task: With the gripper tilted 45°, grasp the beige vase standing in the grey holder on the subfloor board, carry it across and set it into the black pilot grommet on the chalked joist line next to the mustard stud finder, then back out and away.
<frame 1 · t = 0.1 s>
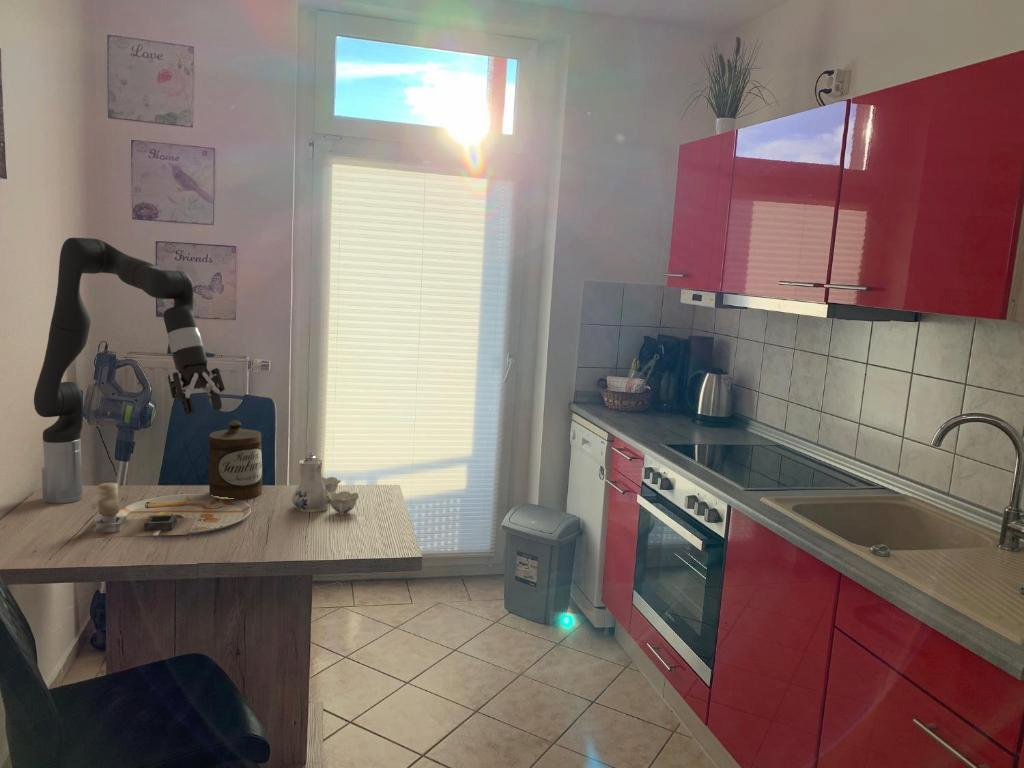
hand: (204, 412, 200), 31 cm above the table, tool tilted 20°, fingers open, 8 cm apart
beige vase: (109, 528, 202), point 1 cm above the table, touching subfloor board
wooden container: (236, 494, 242), on the table
subfloor board: (139, 533, 204), on the table
chinaware: (321, 507, 231), on the table
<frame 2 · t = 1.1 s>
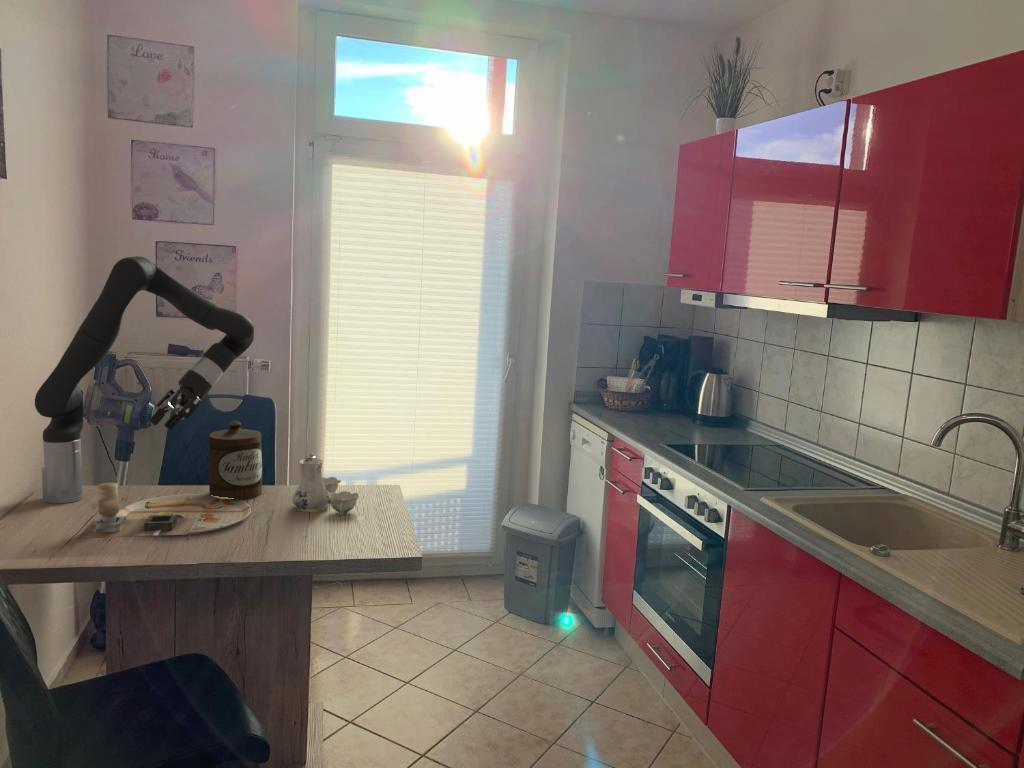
hand: (159, 425, 209), 26 cm above the table, tool tilted 45°, fingers open, 8 cm apart
nothing on the table moved.
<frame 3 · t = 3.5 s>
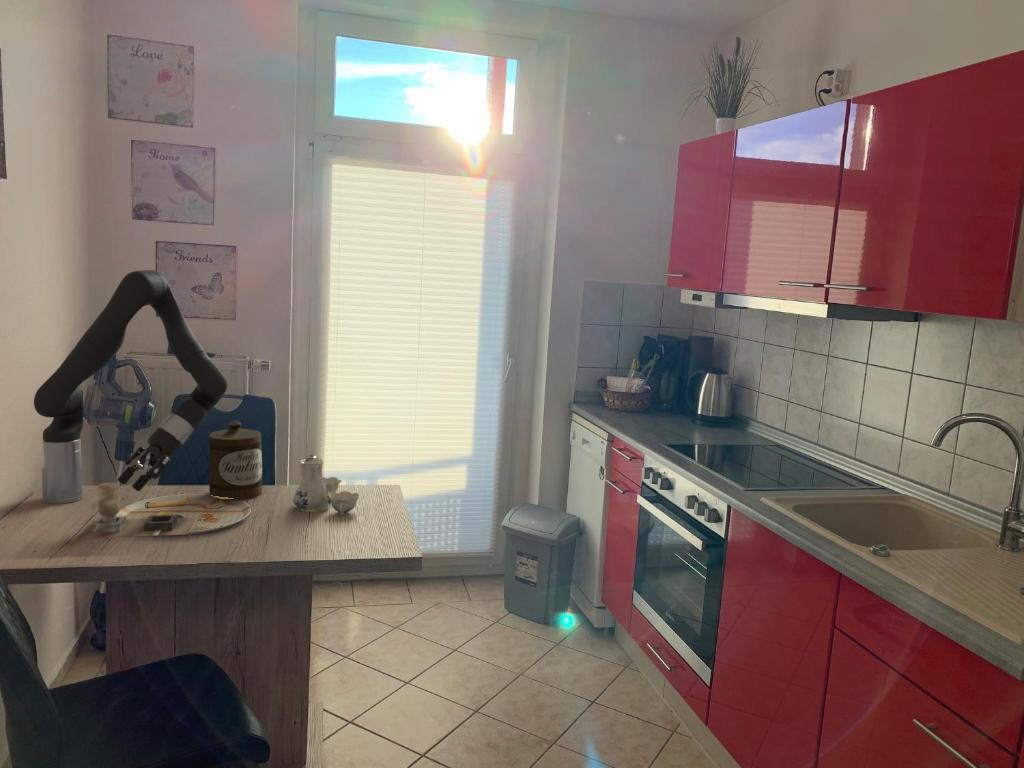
hand: (127, 485, 204), 11 cm above the table, tool tilted 45°, fingers open, 8 cm apart
nothing on the table moved.
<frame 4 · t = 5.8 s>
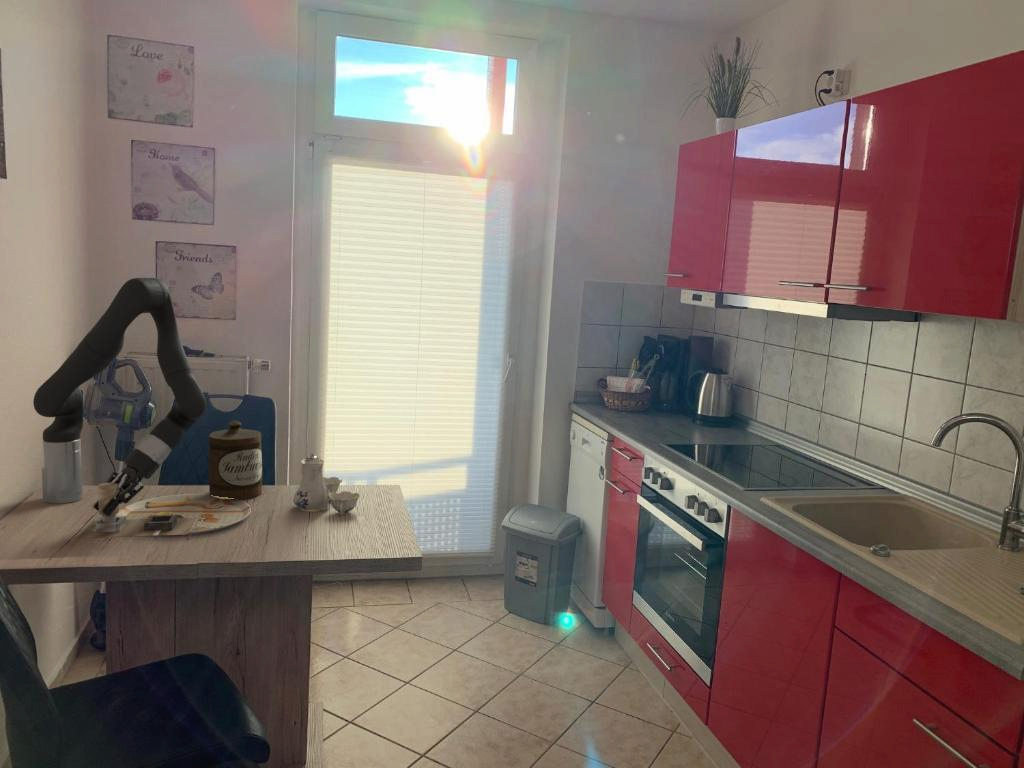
hand: (100, 511, 200), 6 cm above the table, tool tilted 45°, fingers closed on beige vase, 4 cm apart
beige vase: (109, 528, 202), point 2 cm above the table, touching gripper, subfloor board
everything else where it was.
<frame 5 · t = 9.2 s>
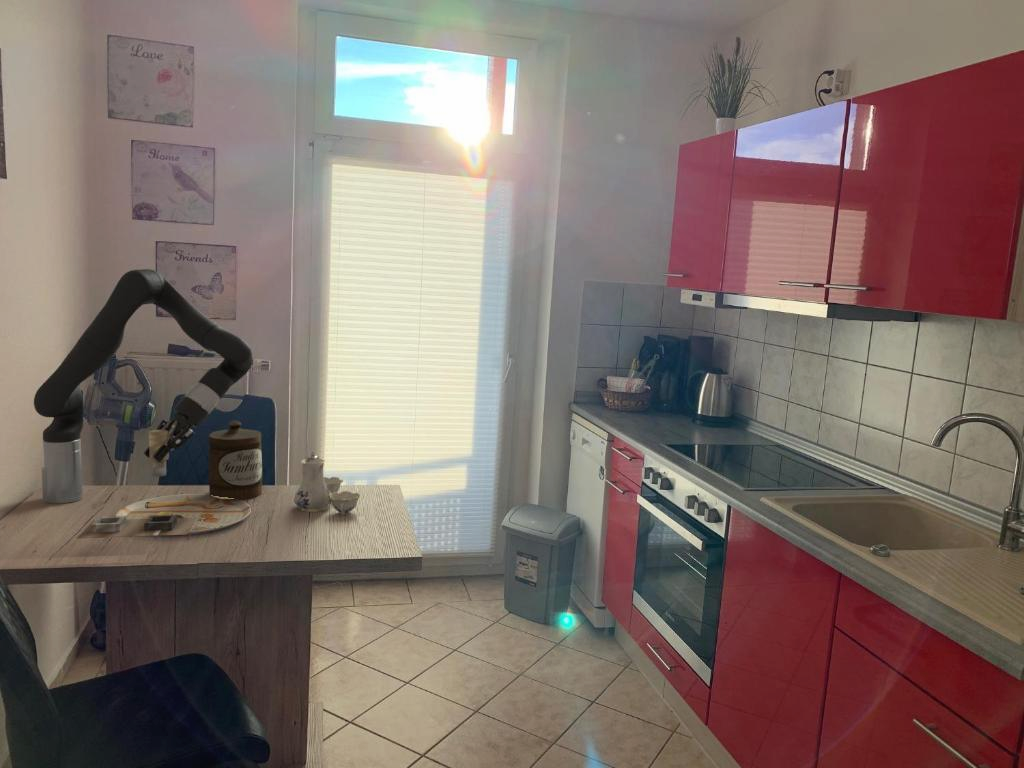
hand: (151, 457, 201), 19 cm above the table, tool tilted 45°, fingers closed on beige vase, 4 cm apart
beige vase: (159, 474, 203), point 15 cm above the table, touching gripper
everything else where it was.
when the fingers open (7 cm above the table, at t = 12.6 s): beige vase drops 1 cm, resting on subfloor board.
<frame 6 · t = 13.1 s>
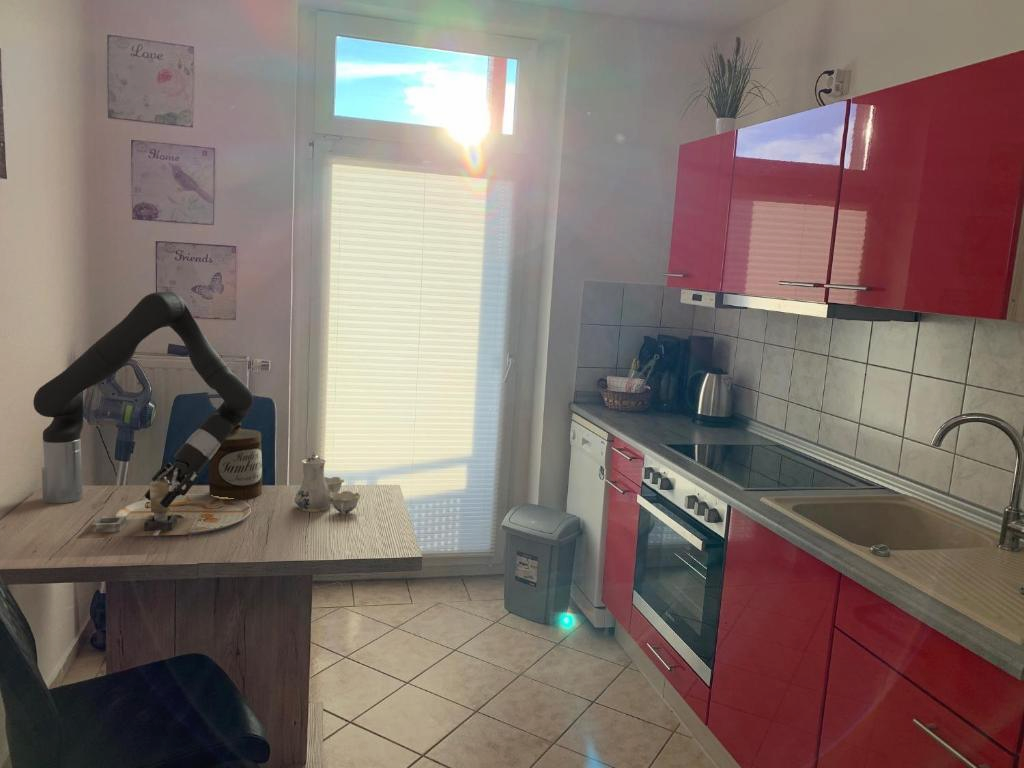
hand: (155, 502, 203), 8 cm above the table, tool tilted 45°, fingers open, 8 cm apart
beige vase: (161, 525, 205), point 2 cm above the table, touching subfloor board
everything else where it was.
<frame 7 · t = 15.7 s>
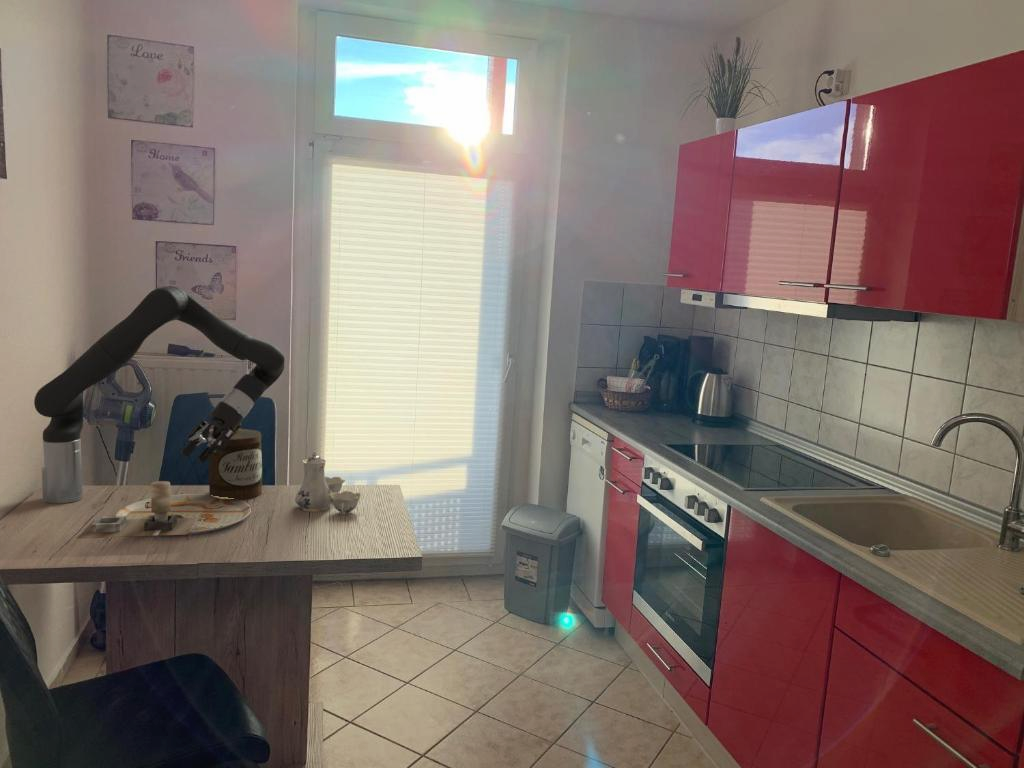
hand: (191, 458, 209), 18 cm above the table, tool tilted 45°, fingers open, 8 cm apart
nothing on the table moved.
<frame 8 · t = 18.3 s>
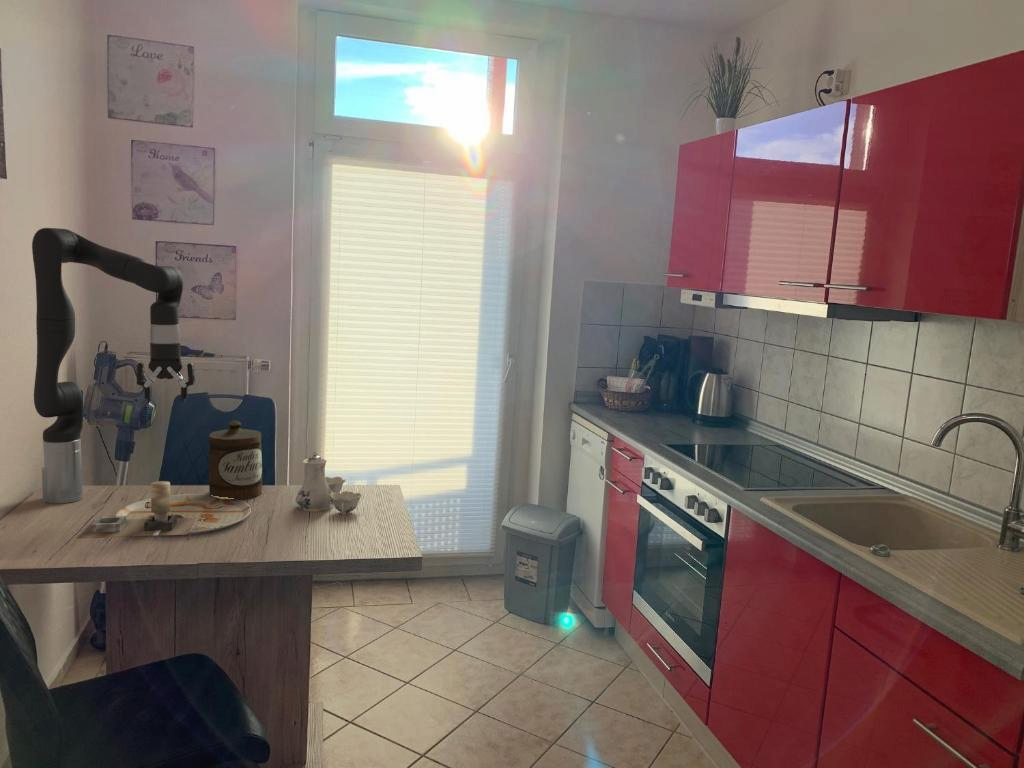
hand: (166, 400, 221), 30 cm above the table, tool pointing down, fingers open, 8 cm apart
at the end: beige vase 0.1 cm from the target spot on the subfloor board, point 1.6 cm above the subfloor board's base; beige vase tilted 1°; the gripper is holding nothing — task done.
